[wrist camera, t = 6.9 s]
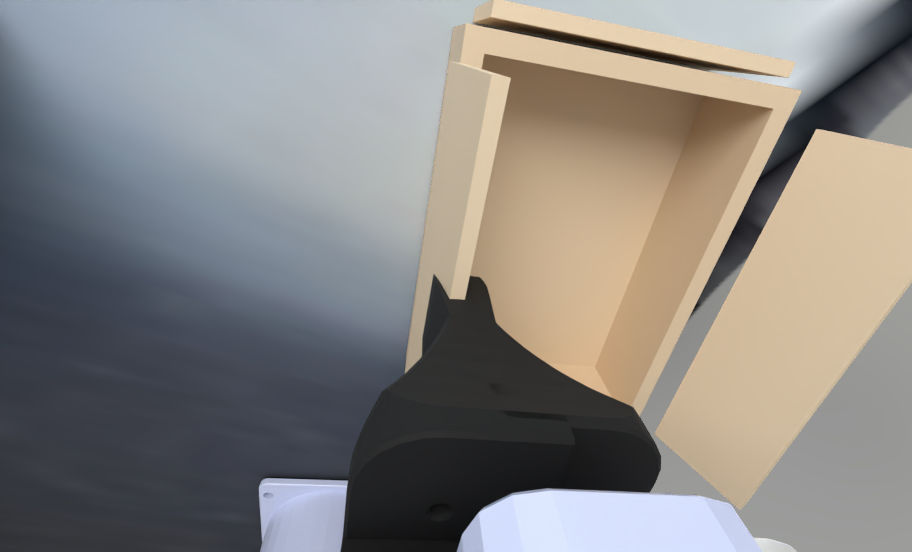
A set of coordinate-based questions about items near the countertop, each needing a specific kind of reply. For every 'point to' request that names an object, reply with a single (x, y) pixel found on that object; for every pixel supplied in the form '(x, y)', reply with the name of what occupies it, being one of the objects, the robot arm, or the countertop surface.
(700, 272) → the carton
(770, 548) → the cylinder
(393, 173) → the countertop surface
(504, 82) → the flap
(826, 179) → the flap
